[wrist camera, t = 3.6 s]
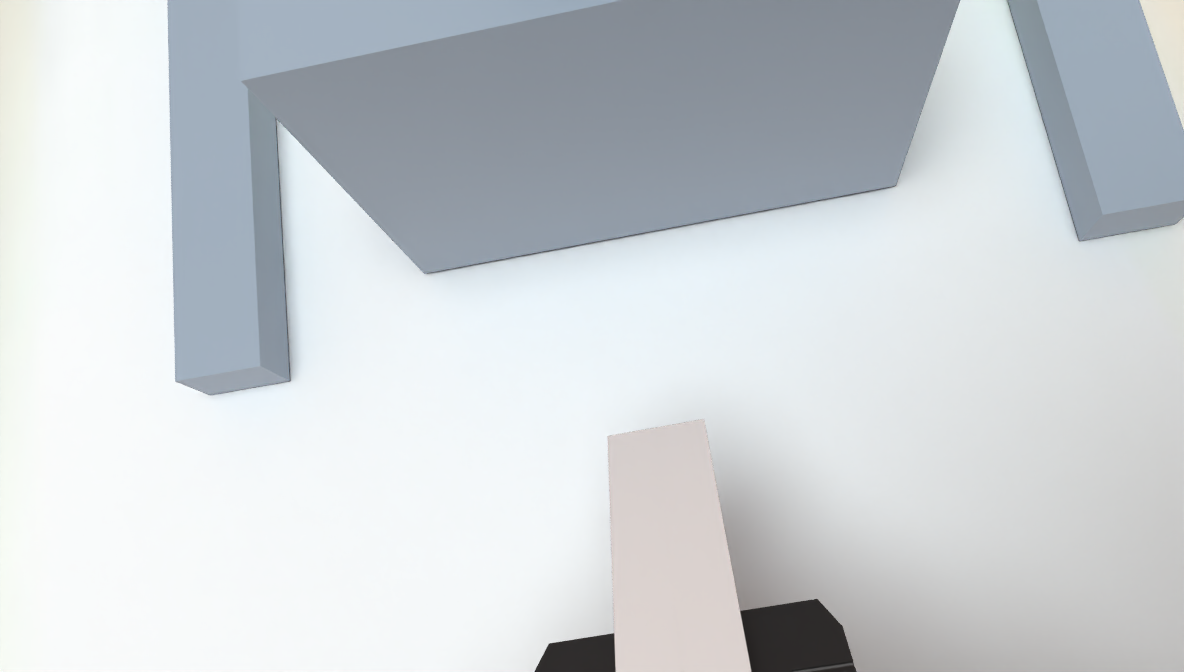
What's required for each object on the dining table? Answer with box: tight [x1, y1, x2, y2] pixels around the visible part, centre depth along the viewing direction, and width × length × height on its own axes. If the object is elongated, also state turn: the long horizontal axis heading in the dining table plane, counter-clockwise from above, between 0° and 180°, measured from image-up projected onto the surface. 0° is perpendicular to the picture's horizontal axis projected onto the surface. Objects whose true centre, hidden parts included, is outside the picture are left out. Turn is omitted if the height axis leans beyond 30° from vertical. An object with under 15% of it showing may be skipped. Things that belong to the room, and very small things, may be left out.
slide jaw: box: [237, 0, 960, 274], centre depth 18 cm, size 11×3×11 cm, turn 98°
